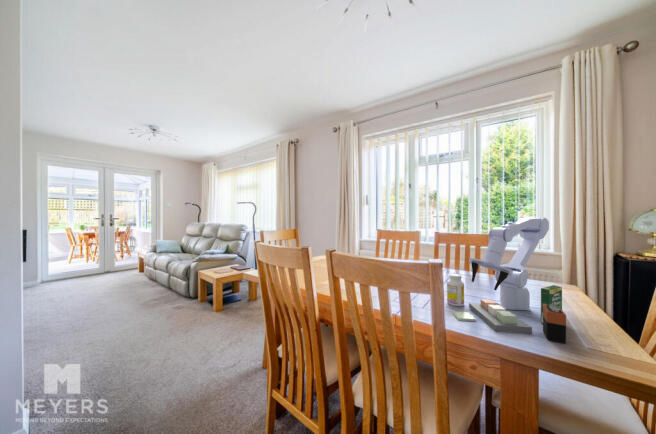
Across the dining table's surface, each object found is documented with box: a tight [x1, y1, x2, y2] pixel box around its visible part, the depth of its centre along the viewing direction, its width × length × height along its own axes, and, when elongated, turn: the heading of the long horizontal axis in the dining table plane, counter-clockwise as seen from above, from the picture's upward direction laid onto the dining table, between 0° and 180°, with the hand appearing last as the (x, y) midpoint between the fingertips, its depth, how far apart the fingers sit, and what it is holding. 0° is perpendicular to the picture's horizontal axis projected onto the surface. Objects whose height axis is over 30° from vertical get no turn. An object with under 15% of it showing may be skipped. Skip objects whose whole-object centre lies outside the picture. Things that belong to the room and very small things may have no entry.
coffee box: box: [540, 284, 563, 325], centre depth 85 cm, size 8×3×13 cm, turn 111°
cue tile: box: [452, 311, 477, 322], centre depth 90 cm, size 6×6×1 cm
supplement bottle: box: [446, 273, 465, 307], centre depth 103 cm, size 7×7×13 cm
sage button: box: [497, 310, 517, 324], centre depth 82 cm, size 4×4×3 cm
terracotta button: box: [480, 298, 498, 310], centre depth 94 cm, size 4×4×3 cm
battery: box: [542, 304, 567, 345], centre depth 75 cm, size 4×7×10 cm, turn 146°
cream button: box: [488, 304, 507, 316], centre depth 88 cm, size 4×4×3 cm
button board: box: [468, 302, 533, 334], centre depth 88 cm, size 11×20×2 cm, turn 171°
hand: (483, 285), depth 92 cm, fingers open, 7 cm apart
